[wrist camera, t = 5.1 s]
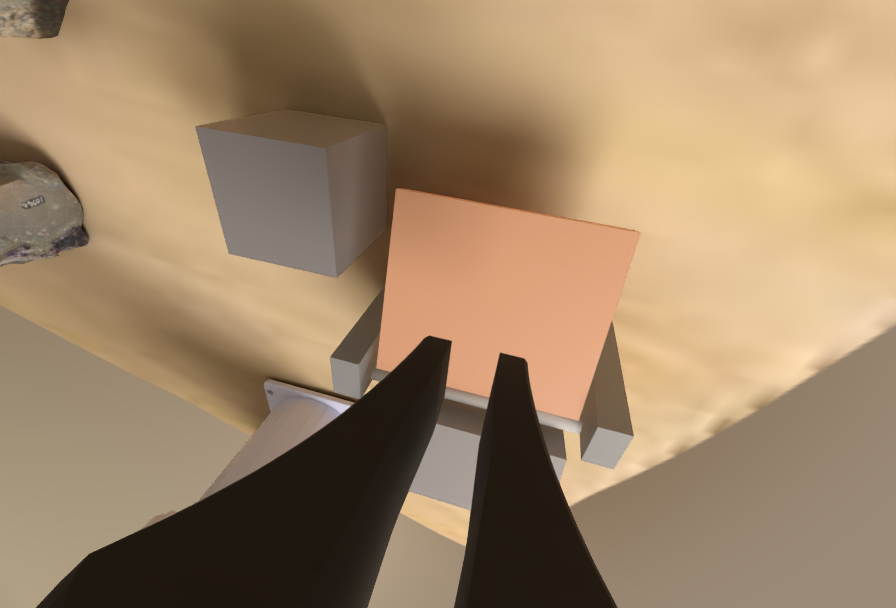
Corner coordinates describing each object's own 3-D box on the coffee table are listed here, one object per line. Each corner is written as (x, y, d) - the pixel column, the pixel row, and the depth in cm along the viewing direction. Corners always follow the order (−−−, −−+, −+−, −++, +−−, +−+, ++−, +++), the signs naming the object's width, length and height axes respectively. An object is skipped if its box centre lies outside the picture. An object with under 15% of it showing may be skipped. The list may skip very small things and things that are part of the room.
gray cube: (387, 228, 19) (336, 277, 15) (300, 211, 20) (228, 253, 15) (387, 124, 16) (325, 147, 12) (286, 108, 17) (195, 126, 13)
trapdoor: (550, 489, 17) (552, 535, 15) (375, 439, 18) (353, 474, 16) (634, 228, 13) (655, 237, 11) (405, 187, 14) (381, 187, 12)
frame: (596, 360, 20) (609, 476, 14) (392, 312, 22) (335, 400, 16) (612, 322, 18) (633, 436, 13) (393, 274, 20) (330, 357, 15)
